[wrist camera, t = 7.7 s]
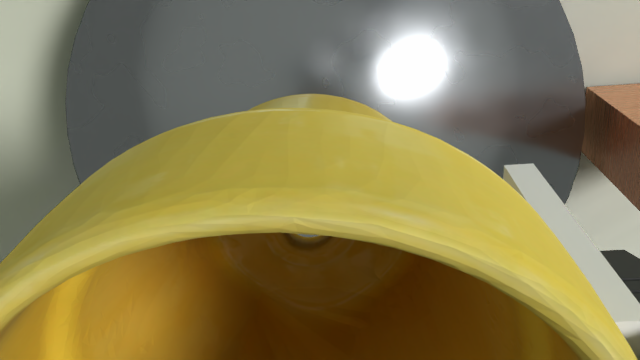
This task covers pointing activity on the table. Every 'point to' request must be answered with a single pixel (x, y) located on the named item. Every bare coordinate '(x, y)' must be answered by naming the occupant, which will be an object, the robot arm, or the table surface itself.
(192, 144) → the plant pot
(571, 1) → the table surface
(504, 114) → the grey round piece
